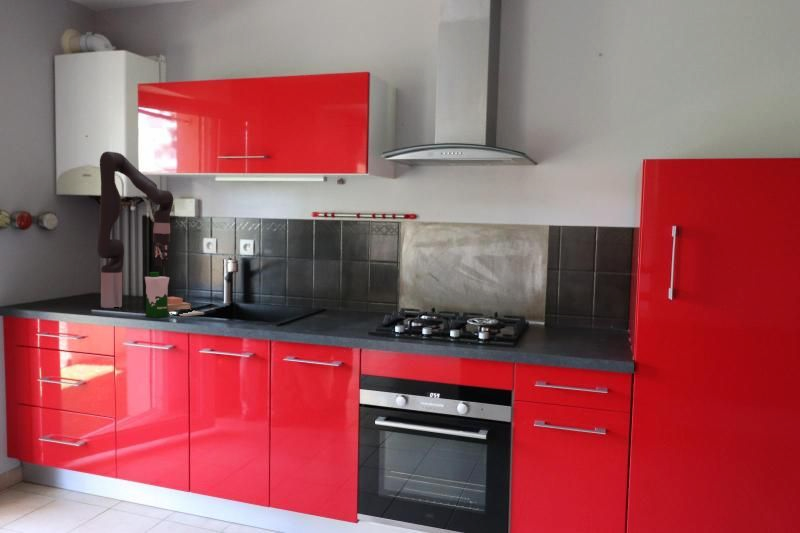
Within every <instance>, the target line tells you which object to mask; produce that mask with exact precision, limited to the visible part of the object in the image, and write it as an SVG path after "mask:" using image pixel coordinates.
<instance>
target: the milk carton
mask: <svg viewBox="0 0 800 533" xmlns="http://www.w3.org/2000/svg"><path fill="white" fill-rule="evenodd" d="M144 280H145V281H144V282H145V317H148V318H153V319H157V318H159V319H160V318H165V317H166V318H167V317H169V314H168V297H169V296H168V295H169V292H168V289H169V287H168V286H169V282H170V277H168V276H160V272H159V271H150V272H149V276H144Z"/></svg>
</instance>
